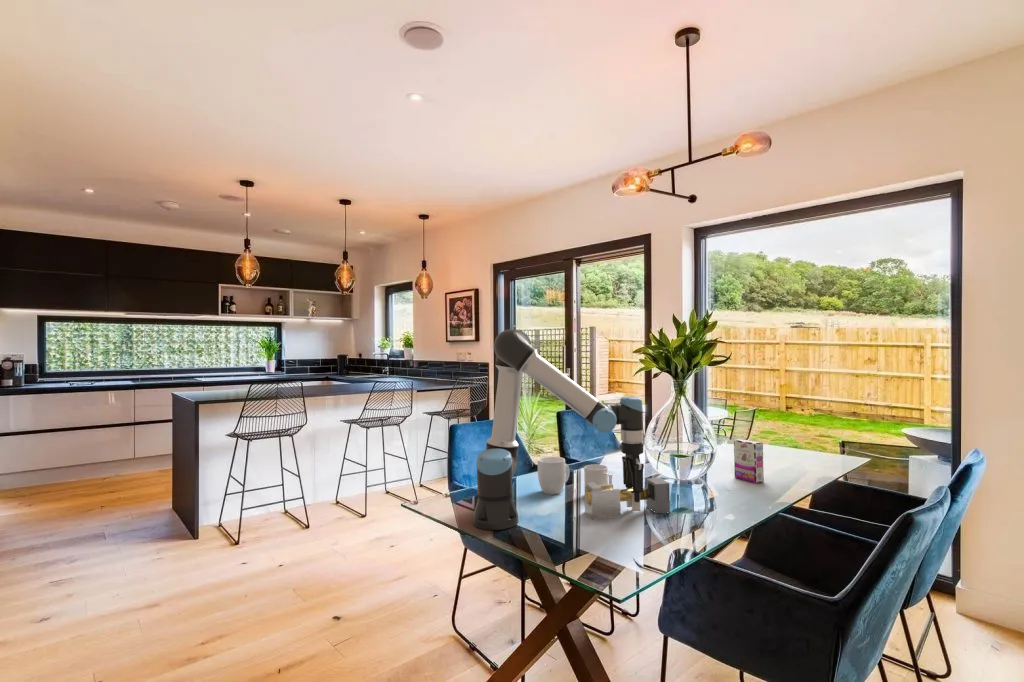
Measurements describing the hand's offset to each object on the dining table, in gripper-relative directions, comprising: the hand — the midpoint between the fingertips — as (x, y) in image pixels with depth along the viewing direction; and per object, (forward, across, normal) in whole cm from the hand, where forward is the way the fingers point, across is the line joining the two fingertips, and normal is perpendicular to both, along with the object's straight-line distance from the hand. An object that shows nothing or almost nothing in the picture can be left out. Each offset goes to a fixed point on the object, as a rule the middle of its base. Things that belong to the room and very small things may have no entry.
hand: (633, 508), depth 187 cm
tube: (-3, 0, +6) cm, 6 cm away
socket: (+1, 0, -9) cm, 9 cm away
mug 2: (+1, +20, +5) cm, 21 cm away
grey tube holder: (+1, 0, +11) cm, 11 cm away
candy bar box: (+1, +27, -63) cm, 68 cm away
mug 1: (+1, +31, +20) cm, 37 cm away
